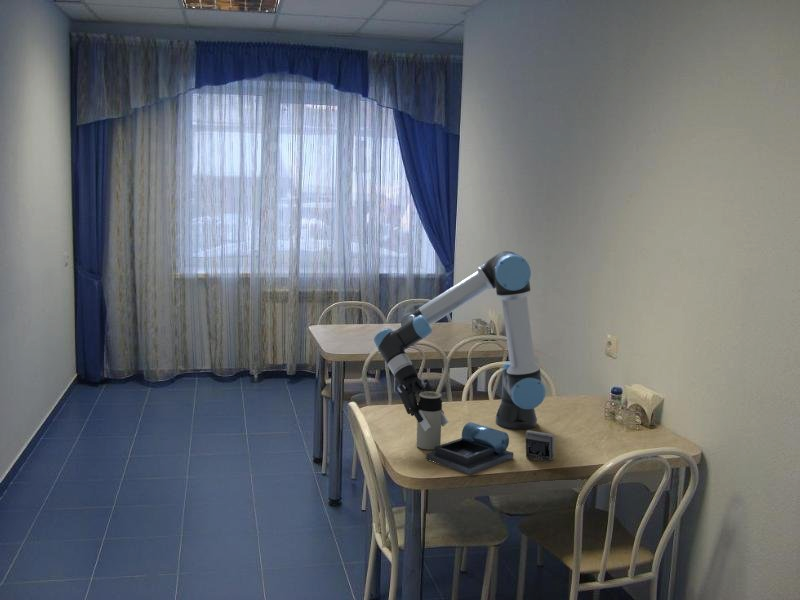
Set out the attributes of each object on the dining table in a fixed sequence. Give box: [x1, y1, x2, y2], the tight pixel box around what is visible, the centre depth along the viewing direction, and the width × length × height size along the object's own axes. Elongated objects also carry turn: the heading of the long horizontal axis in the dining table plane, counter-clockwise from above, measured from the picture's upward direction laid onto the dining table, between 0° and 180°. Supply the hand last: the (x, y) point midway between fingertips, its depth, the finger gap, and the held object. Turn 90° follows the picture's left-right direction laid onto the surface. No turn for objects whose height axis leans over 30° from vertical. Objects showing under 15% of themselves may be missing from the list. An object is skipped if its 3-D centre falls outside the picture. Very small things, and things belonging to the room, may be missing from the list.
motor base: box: [425, 421, 514, 476], centre depth 254 cm, size 22×18×9 cm
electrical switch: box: [525, 429, 556, 463], centre depth 256 cm, size 9×5×9 cm, turn 65°
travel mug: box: [416, 391, 443, 451], centre depth 265 cm, size 8×8×18 cm
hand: (436, 426), depth 263 cm, fingers closed on travel mug, 8 cm apart
